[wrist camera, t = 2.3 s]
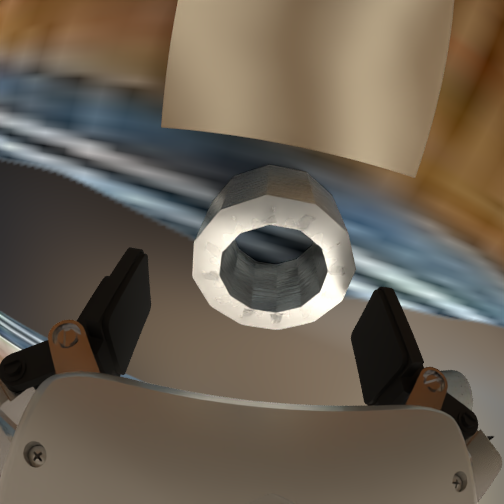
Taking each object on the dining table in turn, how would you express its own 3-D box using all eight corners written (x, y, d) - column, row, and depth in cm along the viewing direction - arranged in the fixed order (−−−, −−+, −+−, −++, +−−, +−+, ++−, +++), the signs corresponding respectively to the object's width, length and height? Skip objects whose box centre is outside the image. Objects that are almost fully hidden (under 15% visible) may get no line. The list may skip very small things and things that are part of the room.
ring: (353, 182, 14) (376, 217, 11) (317, 287, 18) (325, 335, 15) (217, 156, 14) (198, 183, 11) (205, 268, 18) (190, 315, 15)
